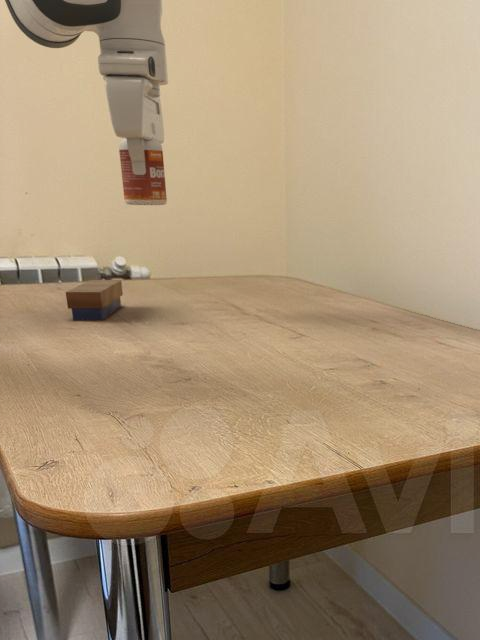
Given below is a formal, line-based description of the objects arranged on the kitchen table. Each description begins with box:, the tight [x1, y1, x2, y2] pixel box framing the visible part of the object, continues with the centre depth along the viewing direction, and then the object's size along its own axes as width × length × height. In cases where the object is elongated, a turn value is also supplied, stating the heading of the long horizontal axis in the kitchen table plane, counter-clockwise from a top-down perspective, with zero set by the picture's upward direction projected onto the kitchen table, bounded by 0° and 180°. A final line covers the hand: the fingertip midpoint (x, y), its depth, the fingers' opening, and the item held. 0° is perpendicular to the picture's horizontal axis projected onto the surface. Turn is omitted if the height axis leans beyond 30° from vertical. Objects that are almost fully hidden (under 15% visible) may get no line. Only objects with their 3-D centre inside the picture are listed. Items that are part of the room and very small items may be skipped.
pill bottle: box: [118, 123, 168, 206], centre depth 104 cm, size 6×6×11 cm
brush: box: [65, 279, 124, 321], centre depth 110 cm, size 13×5×4 cm, turn 4°
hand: (145, 175), depth 105 cm, fingers closed on pill bottle, 6 cm apart
